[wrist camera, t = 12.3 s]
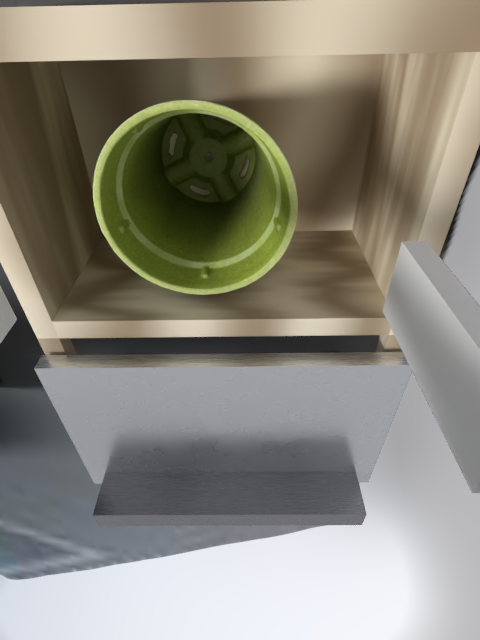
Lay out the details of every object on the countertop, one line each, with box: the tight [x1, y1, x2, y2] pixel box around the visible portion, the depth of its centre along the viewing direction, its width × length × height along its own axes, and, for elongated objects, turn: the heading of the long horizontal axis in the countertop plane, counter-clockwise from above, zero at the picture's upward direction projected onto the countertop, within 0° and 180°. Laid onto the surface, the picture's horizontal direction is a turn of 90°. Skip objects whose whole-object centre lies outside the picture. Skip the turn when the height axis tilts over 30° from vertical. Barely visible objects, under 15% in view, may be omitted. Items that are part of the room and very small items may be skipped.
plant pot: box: [93, 99, 298, 295], centre depth 21 cm, size 9×9×9 cm
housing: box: [0, 0, 480, 355], centre depth 24 cm, size 20×28×13 cm
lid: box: [34, 352, 412, 526], centre depth 24 cm, size 20×12×4 cm, turn 91°
